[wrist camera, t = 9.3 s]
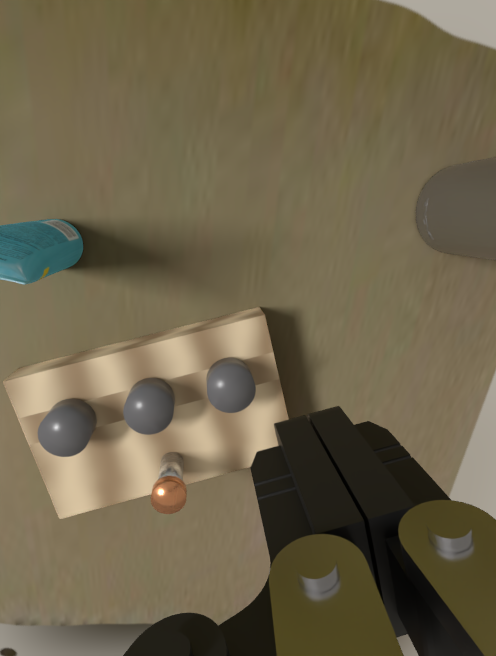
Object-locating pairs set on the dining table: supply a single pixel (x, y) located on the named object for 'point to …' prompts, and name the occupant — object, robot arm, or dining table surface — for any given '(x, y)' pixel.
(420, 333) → the dining table surface
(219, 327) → the panel
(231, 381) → the knob
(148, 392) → the knob middle
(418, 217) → the robot arm
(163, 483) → the orange light bulb
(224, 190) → the dining table surface
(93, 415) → the knob
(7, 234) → the teal bottle
